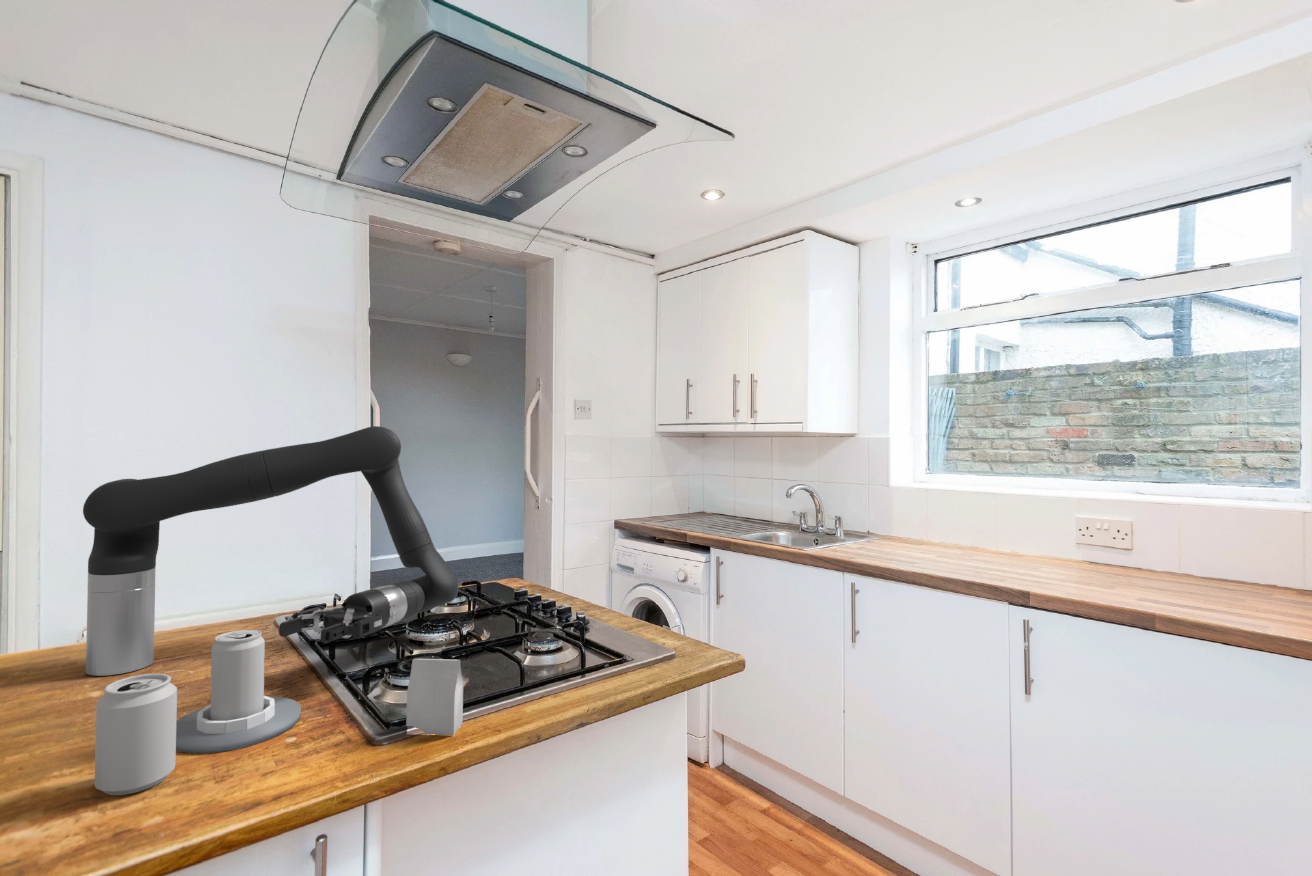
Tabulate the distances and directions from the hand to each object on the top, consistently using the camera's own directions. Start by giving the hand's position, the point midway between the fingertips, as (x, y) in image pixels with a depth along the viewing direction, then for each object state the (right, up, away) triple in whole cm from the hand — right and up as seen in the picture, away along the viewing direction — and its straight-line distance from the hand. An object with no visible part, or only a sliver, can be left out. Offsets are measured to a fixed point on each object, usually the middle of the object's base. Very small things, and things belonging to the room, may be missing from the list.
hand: (301, 633), depth 101 cm
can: (-6, -10, -25) cm, 28 cm away
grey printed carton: (+25, -11, -10) cm, 29 cm away
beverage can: (-3, -9, -10) cm, 14 cm away
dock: (-3, -10, -11) cm, 15 cm away
